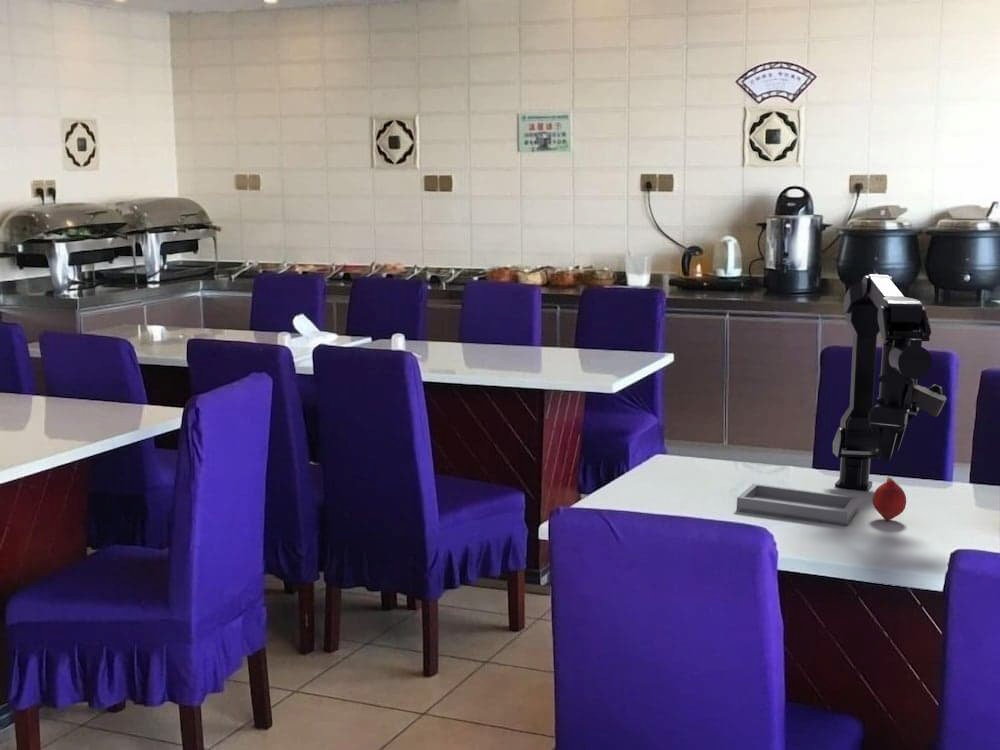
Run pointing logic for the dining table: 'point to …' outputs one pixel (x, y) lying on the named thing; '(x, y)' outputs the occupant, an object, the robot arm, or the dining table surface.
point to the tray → (798, 504)
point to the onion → (889, 499)
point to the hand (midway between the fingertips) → (891, 455)
